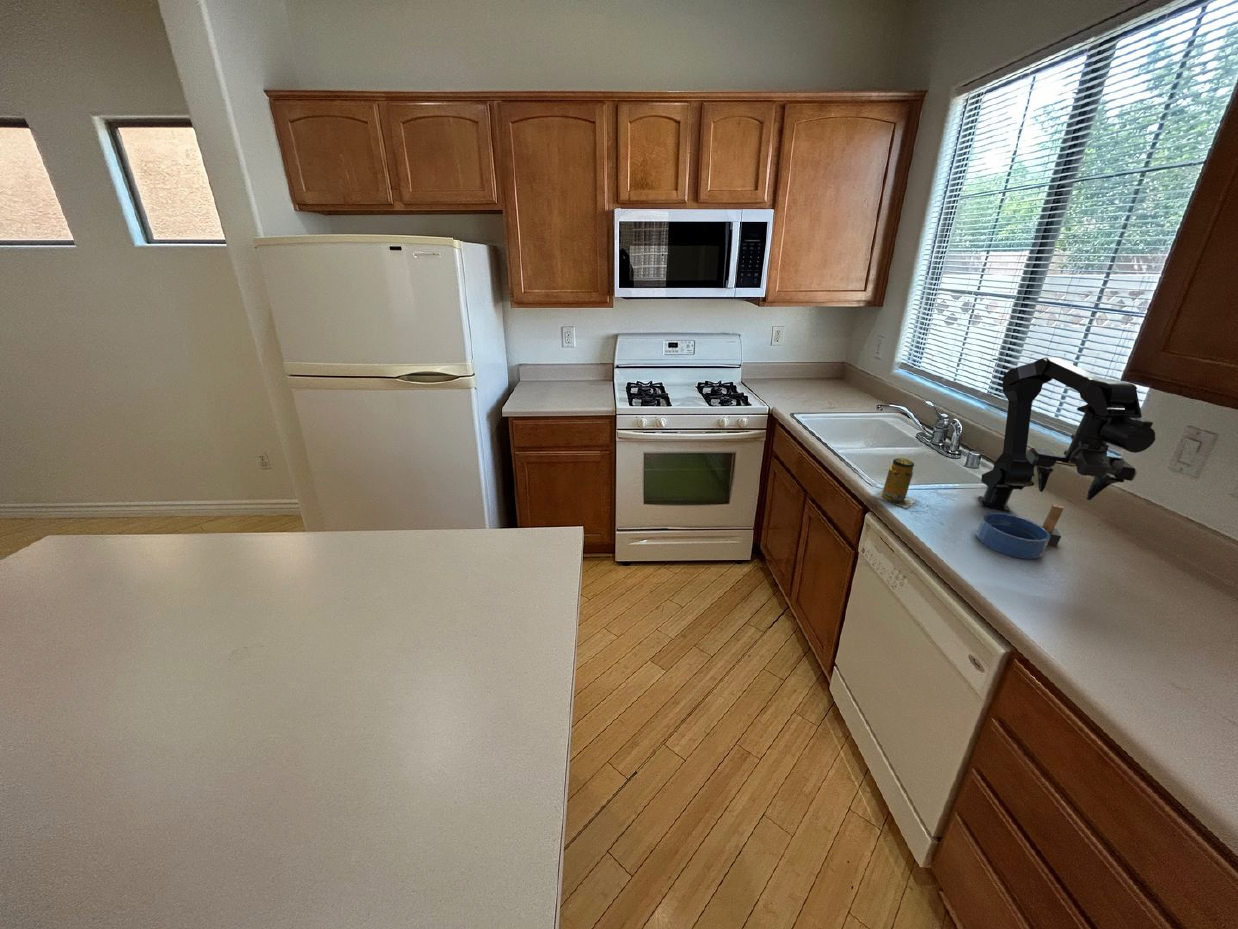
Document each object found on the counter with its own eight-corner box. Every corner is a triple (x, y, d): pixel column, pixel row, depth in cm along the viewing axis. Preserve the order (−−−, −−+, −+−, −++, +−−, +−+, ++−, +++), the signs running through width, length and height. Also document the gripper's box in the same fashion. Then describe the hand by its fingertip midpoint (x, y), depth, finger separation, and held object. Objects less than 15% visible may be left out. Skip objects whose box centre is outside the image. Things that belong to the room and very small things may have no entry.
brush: (1028, 533, 124) (1043, 500, 119) (1051, 538, 122) (1067, 504, 118) (1032, 541, 120) (1048, 507, 116) (1056, 546, 118) (1073, 511, 114)
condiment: (886, 490, 144) (897, 454, 139) (916, 501, 138) (928, 464, 133) (875, 497, 140) (886, 460, 135) (905, 509, 134) (917, 470, 129)
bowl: (970, 526, 126) (977, 508, 124) (1031, 538, 122) (1039, 520, 119) (982, 551, 115) (990, 532, 113) (1049, 566, 111) (1058, 546, 108)
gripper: (1054, 439, 106) (1027, 501, 112) (1165, 455, 99) (1129, 519, 105) (1037, 425, 115) (1013, 482, 122) (1138, 438, 108) (1107, 498, 115)
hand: (1063, 495), depth 116 cm, fingers open, 9 cm apart
